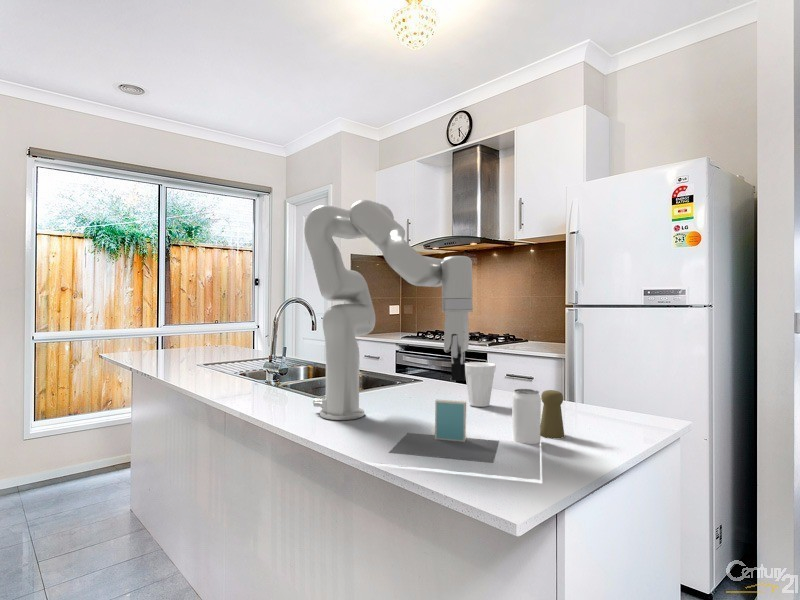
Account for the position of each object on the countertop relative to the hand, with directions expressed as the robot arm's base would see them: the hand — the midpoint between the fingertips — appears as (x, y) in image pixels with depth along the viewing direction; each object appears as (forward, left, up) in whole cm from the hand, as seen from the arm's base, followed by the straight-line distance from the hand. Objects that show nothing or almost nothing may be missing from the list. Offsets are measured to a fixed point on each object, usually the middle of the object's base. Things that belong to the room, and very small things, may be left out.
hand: (458, 380), depth 121 cm
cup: (+1, +34, -14) cm, 37 cm away
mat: (-1, -13, -13) cm, 19 cm away
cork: (+22, +6, -14) cm, 27 cm away
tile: (-1, -7, -13) cm, 15 cm away
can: (+16, -2, -14) cm, 21 cm away
